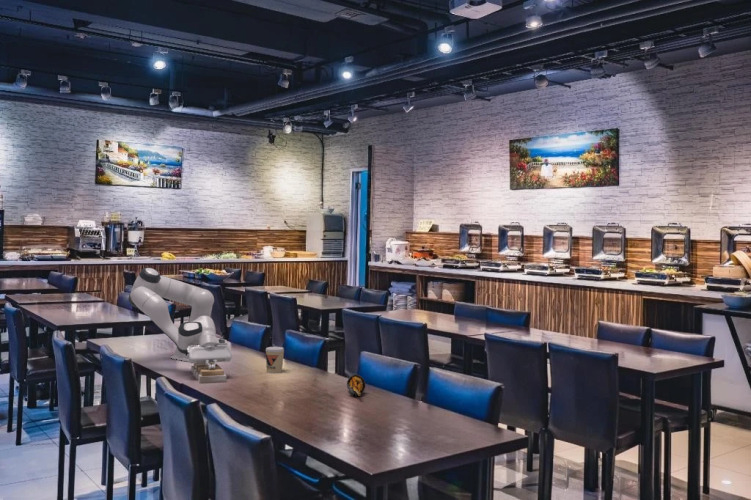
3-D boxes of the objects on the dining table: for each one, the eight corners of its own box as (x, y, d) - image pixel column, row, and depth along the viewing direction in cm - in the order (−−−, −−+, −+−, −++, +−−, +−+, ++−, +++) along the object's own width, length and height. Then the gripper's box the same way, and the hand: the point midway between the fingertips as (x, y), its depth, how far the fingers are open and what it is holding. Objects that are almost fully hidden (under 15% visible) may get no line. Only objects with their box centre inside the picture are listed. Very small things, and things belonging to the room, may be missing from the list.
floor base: (191, 371, 343) (191, 361, 342) (215, 370, 347) (215, 360, 347) (200, 383, 318) (200, 372, 318) (226, 381, 323) (226, 371, 323)
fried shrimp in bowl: (363, 380, 314) (378, 375, 299) (356, 403, 310) (371, 399, 294) (345, 373, 312) (359, 367, 296) (338, 396, 308) (352, 392, 292)
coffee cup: (261, 372, 348) (261, 348, 348) (272, 369, 356) (272, 346, 356) (276, 374, 343) (277, 350, 343) (287, 371, 352) (287, 347, 351)
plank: (197, 370, 331) (197, 366, 331) (218, 369, 335) (218, 365, 335) (202, 376, 319) (202, 372, 319) (223, 375, 323) (223, 370, 323)
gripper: (187, 342, 327) (190, 366, 318) (230, 340, 335) (234, 363, 326) (185, 349, 331) (188, 373, 322) (228, 347, 339) (232, 371, 330)
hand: (212, 368), depth 324 cm, fingers closed, pressing on plank
